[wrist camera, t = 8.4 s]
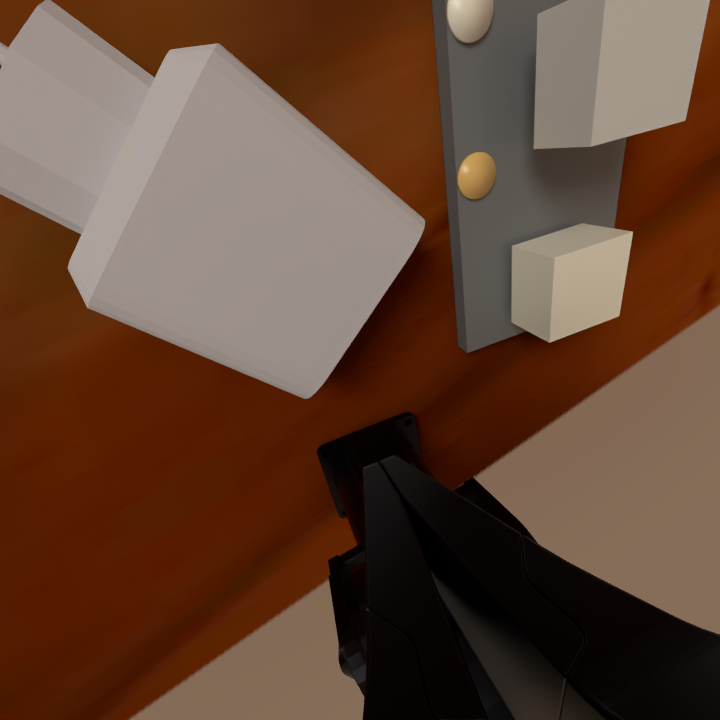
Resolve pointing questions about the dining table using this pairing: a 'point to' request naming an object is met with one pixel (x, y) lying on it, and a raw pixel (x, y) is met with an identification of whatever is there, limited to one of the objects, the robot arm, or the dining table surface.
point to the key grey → (614, 68)
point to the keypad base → (505, 159)
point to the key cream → (569, 280)
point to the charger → (198, 201)
